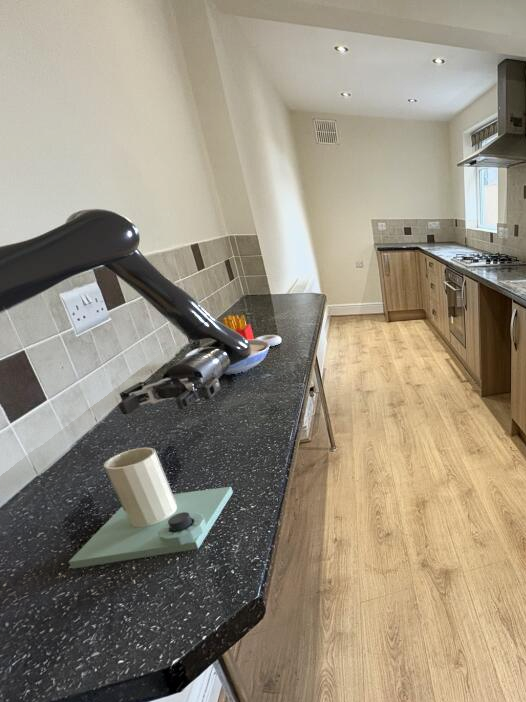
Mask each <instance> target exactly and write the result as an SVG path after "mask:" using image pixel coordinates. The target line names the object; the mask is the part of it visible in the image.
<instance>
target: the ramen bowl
mask: <svg viewBox="0 0 526 702" xmlns="http://www.w3.org/2000/svg"><path fill="white" fill-rule="evenodd" d="M247 341H248V343H249V344H250V347H251V354H250V356H249V357H247V358H246V359H244V360H242V361H240V362H238V363H235V364H233V365H231V366H229V368H228V370H227V371H226V372H225V373H224V374H225V375H224V376H232V375H231V374H235V375H239V374H238V373H240V374H242V373H241V372H243V373H245V372H247V371H249V370H250V369H252V368H254V367H257V366H258V365H259V364H260V363H261V362H262V361H264V359H265V358H266V357H267V354H268V352H269V350H270V348H269V347H270V345H269V342H266V341H263V340H247ZM199 348H200V347H197V348H195V349H193V350H191V351H190V352H188V353H186V354H185V356H184V358H185V357H187V356H190V355H192V354H194V353H196V352H197V350H198V349H199Z"/></svg>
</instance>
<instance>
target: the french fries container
mask: <svg viewBox="0 0 526 702" xmlns="http://www.w3.org/2000/svg"><path fill="white" fill-rule="evenodd" d="M226 316H227V317H223V318H222V319H221V322H222V324H224V325H225V326H227V327H229V328H231V329H232V330H234V331H236V332H237V333H239V334H240V335H242V336H243V337H244V338H245V339H246V340H254V339H255V338H254V333H253V330H252V326H251V323H247V322H246V318H245V315H244V314H241V315H240V317H239V315H238V314H234V315H230V314H228V315H226Z"/></svg>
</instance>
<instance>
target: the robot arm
mask: <svg viewBox="0 0 526 702" xmlns="http://www.w3.org/2000/svg"><path fill="white" fill-rule="evenodd" d="M140 242H141V237H140V232H139V230H138V228H137V227H136V225H135V224H134V222H132V221H131V220H130V219H129V218H127V217H126V216H124V215H122V214H119V213H118V212H115V211H112V210H108V209H103V208H91V209H89V208H88V209H81V210H78V211H75V212H73V213H71V214H70V215H69V216H68V217H67V218H66V221H65V223H63V224H61V225H59V226H57V227H55V228H53V229H50V230H48V231H46V232H44V233H42V234H39V235H37V236H35V237H33V238H29V239H26V240H21V241H19V242H15V243H10V244H5V245H0V314H3V313H5V312H6V311H9V310H12V309H13V308H15V307H17V306H19V305H21V304H23V303H25V302H27V301H28V300H31V299H33V298H35V297H36V296H38V295H41V294H42V293H44V292H47V291H48V290H50V289H51V288H54V287H55V286H57V285H58V284H60V283H62V282H64V281H66V280H67V279H70V278H71V277H72V278H73V277H74V276H77V275H80V274H82V273H84V272H87V271H91V270H94V269H96V268H100V267H102V266H103V267H104V268H106V269H107V270H109V271H111V272H112V274H114V275H116V277H118V278H119V279H121V280H122V281H123V282H124V283H125V284H126V285H128V286H129V287H131V288H132V289H133V290H134V291H135V292H137V294H139V295H140V296H141V297H142V298H143V299H144V300H145V301H147V303H148V304H150V306H151V307H153V308H154V309H155V310H156V311H157V312H158V313H159V314H160V315H162V316H163V318H164V319H166V320H167V321H168V322H169V323H170V324H171V325H172V326H173V327H174V328H176V329H177V330H178V331H179V332H180V333H182V334H183V335H184V336H185V337H186V338H187V339H189V340H190V341H199V340H205V339H210V340H211V341H209V342H206V343H205V344H203V345H201V346H200V347H198V348H199V349H198V348H197V349H198V350H197V352H196V353H194V354H192V355H190V356H187V357H185V356H184V358H182V359H180V360H179V361H177V362H176V363H174V364H173V365H171V366H170V367H168V368H167V369H166V370H165V371H164V373H163V375H162V378H161V379H160V380H158V381H155V382H153V383H150V384H146V382H145V381H139V382H137V383H135V384H133V385H132V386H130V387H128V388H127V389H125V390H123V391H121V392H120V393H119V397H120V400H121V402H119V403H118V404H117V405H118V408H119V410H120V413H122V415H130V414H131V413H132V412H134V411H135V410H137V409H138V408H140V407H141V406H143V405H147V404H152V405H154V404H158V403H160V402H164V401H166V400H173V399H175V401H176V405H177V408H178V409H179V410H186V409H187V408H188V407H189V406H191V405H192V404H194V403H195V402H199V401H201V399H204V400H210V399H212V398H213V397H214V396H216V394H217V393H218V392H219V391H220V390H221V385H220V381H219V379H220V378H221V377H223V374H224V373H225V372H226V371H227V370H228V368H229V366H231V365H233V364H235V363H238V362H240V361H242V360H244V359H246V358H247V357H249V356H250V354H251V347H250V344H249V343H248V341H247V340H246V339H245V338H244V337H243V336H242V335H240V334H239V333H237V332H236V331H234V330H232V329H231V328H229V327H227V326H225V325H224V323H223V322H222V321H221V322H220V321H219V320H217V319H216V318H214V316H212V315H211V314H210V313H209V312H208V311H207V310H206V308H204V307H203V306H202V305H201V304H200V303H199V302H198V301H197V300H196V299H195V298H194V297H193V296H192V295H190V294H189V292H187V291H186V290H185V289H183V288H182V287H180V286H179V285H178V284H176V283H175V282H174V281H173V280H171V279H170V278H169V277H167V276H166V275H165V274H164V273H162V272H161V271H160V270H159V269H158V268H157V267H156V266H155V265H153V264H152V263H151V262H150V261H149V259H148V258H147V257H146V256H145V255H143V254H142V252H141V251H140V250H139V245H140ZM153 392H154V394H155V395H156V396H157V397H156V398H155V396H154V394H153ZM143 398H144V399H143Z"/></svg>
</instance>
